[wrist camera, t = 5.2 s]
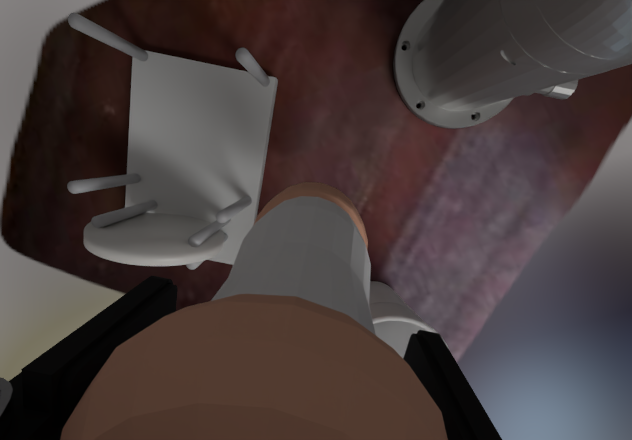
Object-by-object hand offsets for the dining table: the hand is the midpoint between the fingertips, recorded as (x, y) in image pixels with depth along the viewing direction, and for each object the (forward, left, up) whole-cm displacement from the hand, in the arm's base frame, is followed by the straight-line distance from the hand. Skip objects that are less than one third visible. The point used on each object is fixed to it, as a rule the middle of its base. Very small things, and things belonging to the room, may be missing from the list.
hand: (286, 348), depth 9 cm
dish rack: (+13, -2, -24) cm, 28 cm away
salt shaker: (0, 0, -13) cm, 13 cm away
